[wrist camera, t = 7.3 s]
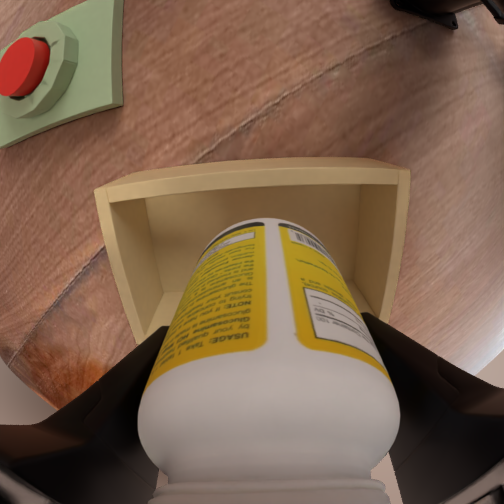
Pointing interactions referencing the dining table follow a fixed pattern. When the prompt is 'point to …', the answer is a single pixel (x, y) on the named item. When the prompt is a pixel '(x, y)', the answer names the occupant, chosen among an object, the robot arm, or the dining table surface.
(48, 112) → the panel
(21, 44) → the button
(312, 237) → the pill bottle
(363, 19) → the dining table surface
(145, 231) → the wooden planter box
